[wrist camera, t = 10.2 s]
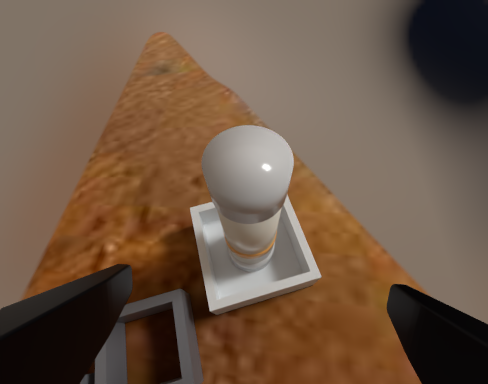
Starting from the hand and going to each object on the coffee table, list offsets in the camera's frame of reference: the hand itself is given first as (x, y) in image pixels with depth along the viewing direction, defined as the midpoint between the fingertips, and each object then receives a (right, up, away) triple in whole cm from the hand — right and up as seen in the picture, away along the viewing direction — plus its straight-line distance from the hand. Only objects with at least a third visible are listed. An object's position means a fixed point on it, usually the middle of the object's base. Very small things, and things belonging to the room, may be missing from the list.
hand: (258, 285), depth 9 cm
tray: (0, -2, +14) cm, 14 cm away
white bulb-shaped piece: (0, -2, +13) cm, 13 cm away
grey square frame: (-7, -9, +11) cm, 16 cm away
